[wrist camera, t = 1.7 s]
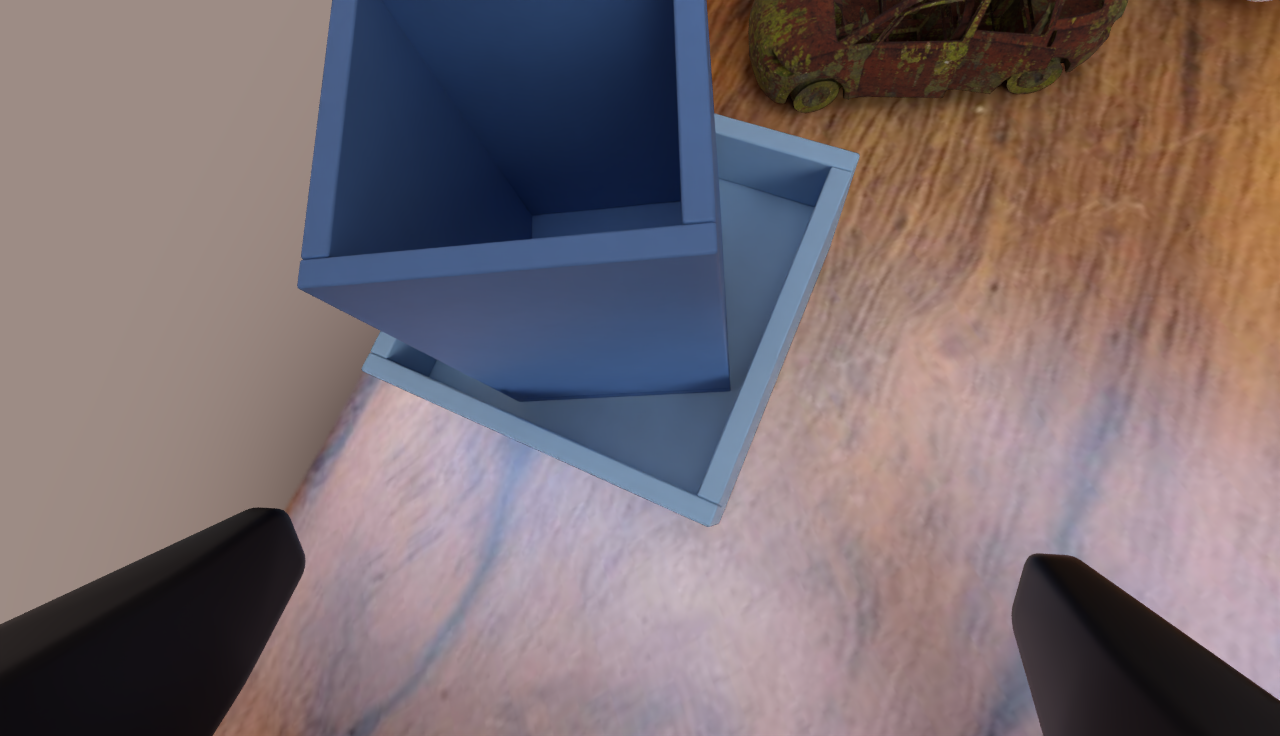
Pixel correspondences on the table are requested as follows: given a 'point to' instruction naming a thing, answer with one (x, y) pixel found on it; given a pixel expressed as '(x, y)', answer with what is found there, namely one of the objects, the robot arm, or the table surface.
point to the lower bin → (756, 327)
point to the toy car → (919, 45)
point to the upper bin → (525, 191)
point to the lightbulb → (1259, 0)
